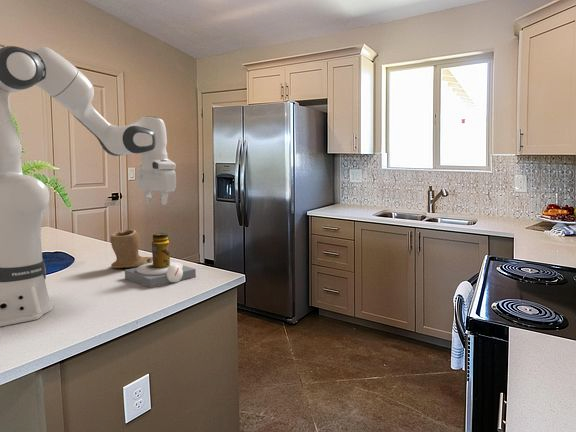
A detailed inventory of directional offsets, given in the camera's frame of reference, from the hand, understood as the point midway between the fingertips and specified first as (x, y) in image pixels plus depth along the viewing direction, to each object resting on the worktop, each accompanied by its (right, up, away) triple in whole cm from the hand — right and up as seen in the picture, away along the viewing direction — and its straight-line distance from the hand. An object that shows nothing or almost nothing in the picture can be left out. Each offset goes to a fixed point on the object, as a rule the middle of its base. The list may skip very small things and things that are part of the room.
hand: (156, 203), depth 155 cm
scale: (0, -27, +4) cm, 27 cm away
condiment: (0, -23, +3) cm, 23 cm away
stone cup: (-16, -25, +19) cm, 35 cm away
